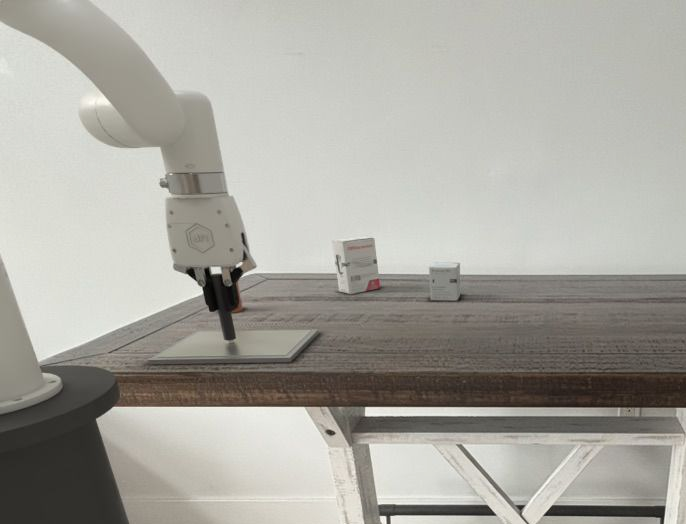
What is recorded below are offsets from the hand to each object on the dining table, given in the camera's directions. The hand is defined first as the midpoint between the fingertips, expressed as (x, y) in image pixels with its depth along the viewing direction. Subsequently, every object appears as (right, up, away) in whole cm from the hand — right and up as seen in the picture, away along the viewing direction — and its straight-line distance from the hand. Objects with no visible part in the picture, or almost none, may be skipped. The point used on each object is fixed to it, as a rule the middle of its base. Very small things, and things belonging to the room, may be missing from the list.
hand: (224, 309), depth 88 cm
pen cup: (-11, +3, +25) cm, 28 cm away
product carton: (+31, +7, +35) cm, 47 cm away
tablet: (+1, -6, +3) cm, 7 cm away
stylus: (0, -5, +2) cm, 6 cm away
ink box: (+10, +10, +43) cm, 45 cm away
